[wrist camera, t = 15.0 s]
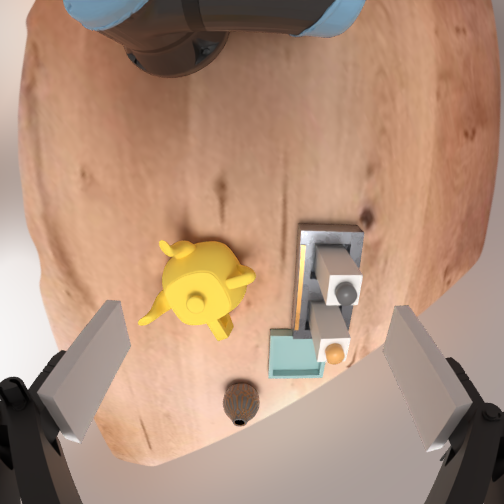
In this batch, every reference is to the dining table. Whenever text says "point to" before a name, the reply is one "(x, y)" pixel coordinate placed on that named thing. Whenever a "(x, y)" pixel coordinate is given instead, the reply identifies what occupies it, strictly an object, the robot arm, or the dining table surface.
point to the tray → (292, 356)
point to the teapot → (201, 285)
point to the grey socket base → (305, 274)
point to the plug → (328, 332)
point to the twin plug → (337, 274)
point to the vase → (241, 403)
